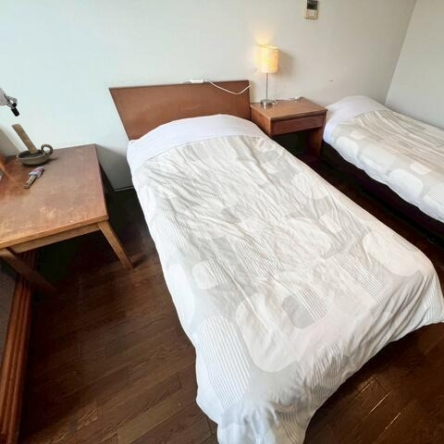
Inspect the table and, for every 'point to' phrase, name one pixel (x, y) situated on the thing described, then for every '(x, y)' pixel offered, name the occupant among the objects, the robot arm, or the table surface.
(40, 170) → the paintbrush
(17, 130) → the stick
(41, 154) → the bowl
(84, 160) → the table surface
